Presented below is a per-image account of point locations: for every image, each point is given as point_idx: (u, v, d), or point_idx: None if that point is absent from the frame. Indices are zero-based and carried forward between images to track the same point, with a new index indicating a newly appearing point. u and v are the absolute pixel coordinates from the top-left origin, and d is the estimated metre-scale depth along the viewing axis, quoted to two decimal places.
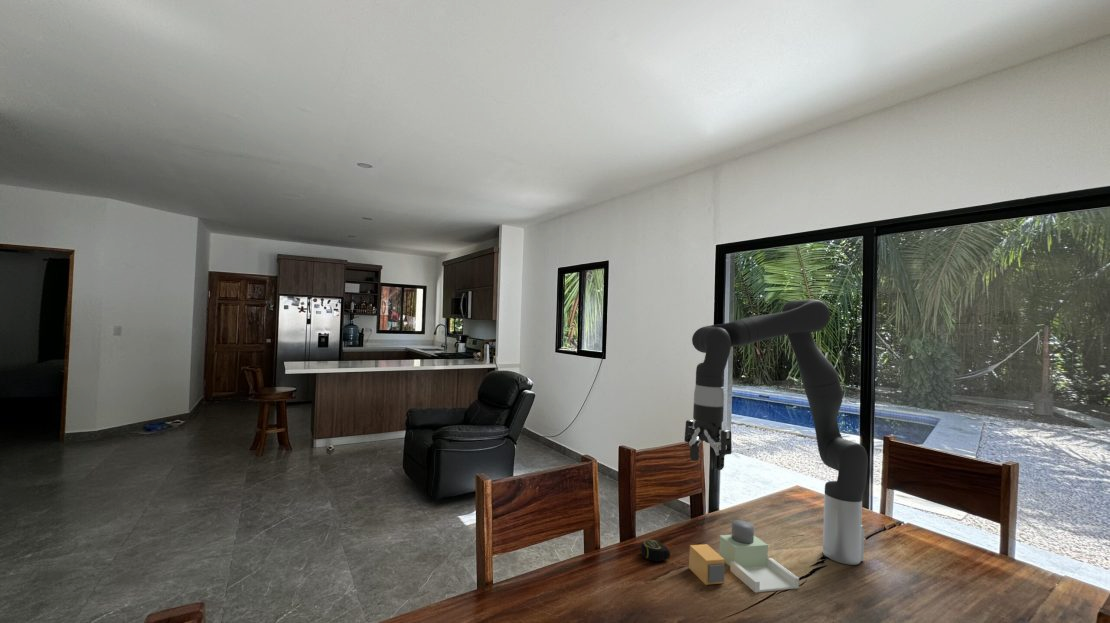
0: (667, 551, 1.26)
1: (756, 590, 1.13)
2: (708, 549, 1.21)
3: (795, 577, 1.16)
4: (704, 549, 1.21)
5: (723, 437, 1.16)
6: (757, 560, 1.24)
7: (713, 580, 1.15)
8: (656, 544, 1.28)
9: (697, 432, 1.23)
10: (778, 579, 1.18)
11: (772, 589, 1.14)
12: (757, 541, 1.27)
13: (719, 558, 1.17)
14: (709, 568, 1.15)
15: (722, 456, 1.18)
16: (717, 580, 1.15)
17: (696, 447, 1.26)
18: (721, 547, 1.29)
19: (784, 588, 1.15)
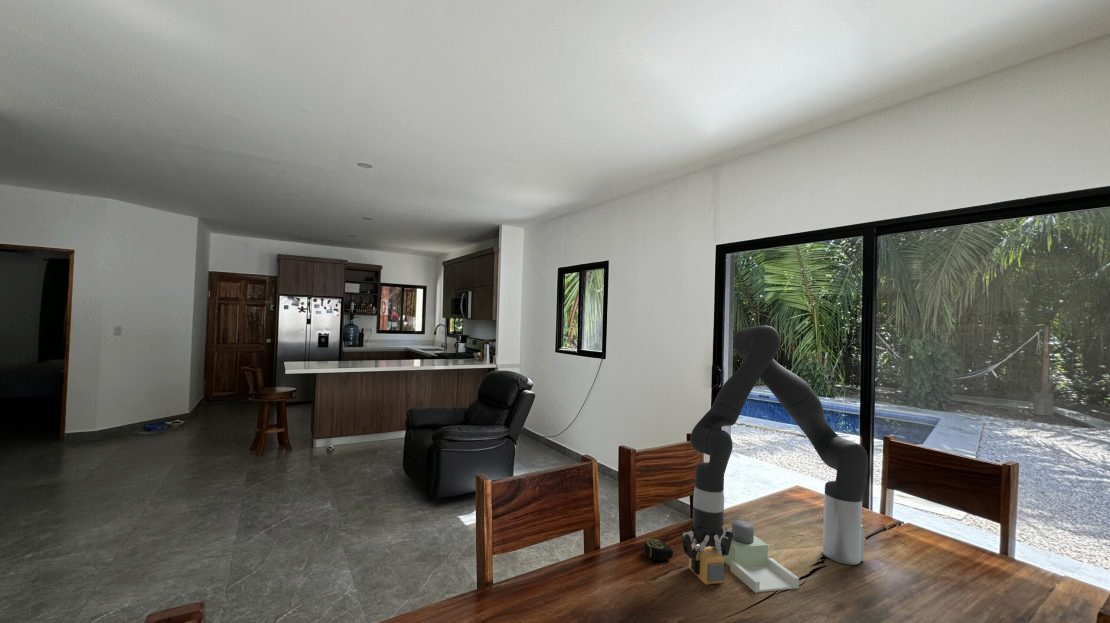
0: (670, 550, 1.26)
1: (756, 590, 1.13)
2: (708, 549, 1.21)
3: (795, 577, 1.16)
4: None
5: (731, 539, 1.20)
6: (757, 560, 1.24)
7: (713, 579, 1.15)
8: (659, 543, 1.29)
9: (706, 540, 1.18)
10: (778, 579, 1.18)
11: (772, 589, 1.14)
12: (757, 541, 1.27)
13: (719, 557, 1.17)
14: (709, 567, 1.15)
15: None
16: (717, 579, 1.15)
17: None
18: None
19: (784, 588, 1.15)
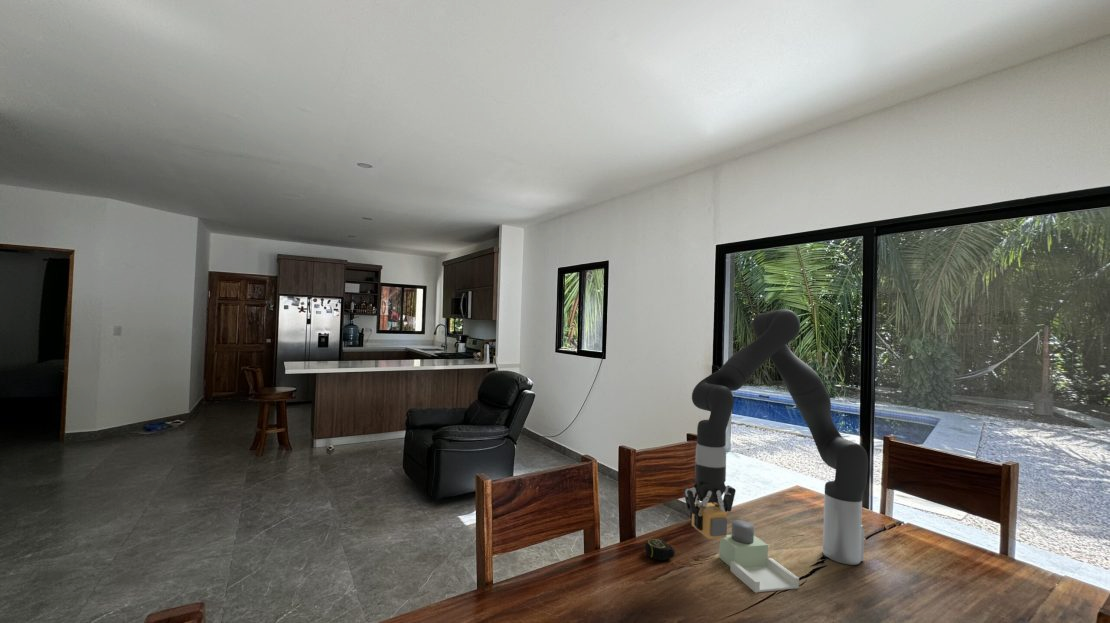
0: (671, 550, 1.26)
1: (756, 590, 1.13)
2: (710, 505, 1.21)
3: (795, 577, 1.16)
4: None
5: (733, 495, 1.20)
6: (757, 560, 1.24)
7: (716, 534, 1.15)
8: (660, 543, 1.29)
9: (708, 496, 1.18)
10: (778, 579, 1.18)
11: (772, 589, 1.14)
12: (757, 541, 1.27)
13: (721, 512, 1.17)
14: (712, 522, 1.15)
15: None
16: (720, 534, 1.15)
17: None
18: (721, 547, 1.29)
19: (784, 588, 1.15)
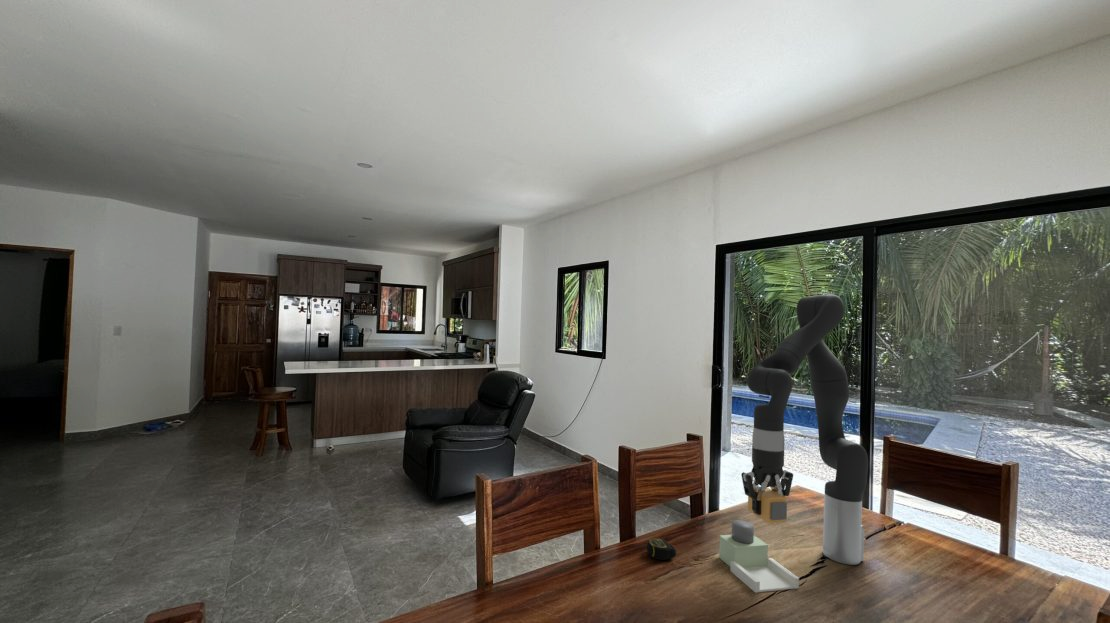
0: (673, 550, 1.27)
1: (756, 590, 1.13)
2: (767, 490, 1.21)
3: (795, 577, 1.16)
4: None
5: (791, 479, 1.20)
6: (757, 560, 1.24)
7: (776, 518, 1.14)
8: (662, 543, 1.29)
9: (767, 480, 1.17)
10: (778, 579, 1.18)
11: (772, 589, 1.14)
12: (757, 541, 1.27)
13: (781, 496, 1.16)
14: (772, 506, 1.15)
15: None
16: (780, 518, 1.15)
17: None
18: (721, 547, 1.29)
19: (784, 588, 1.15)
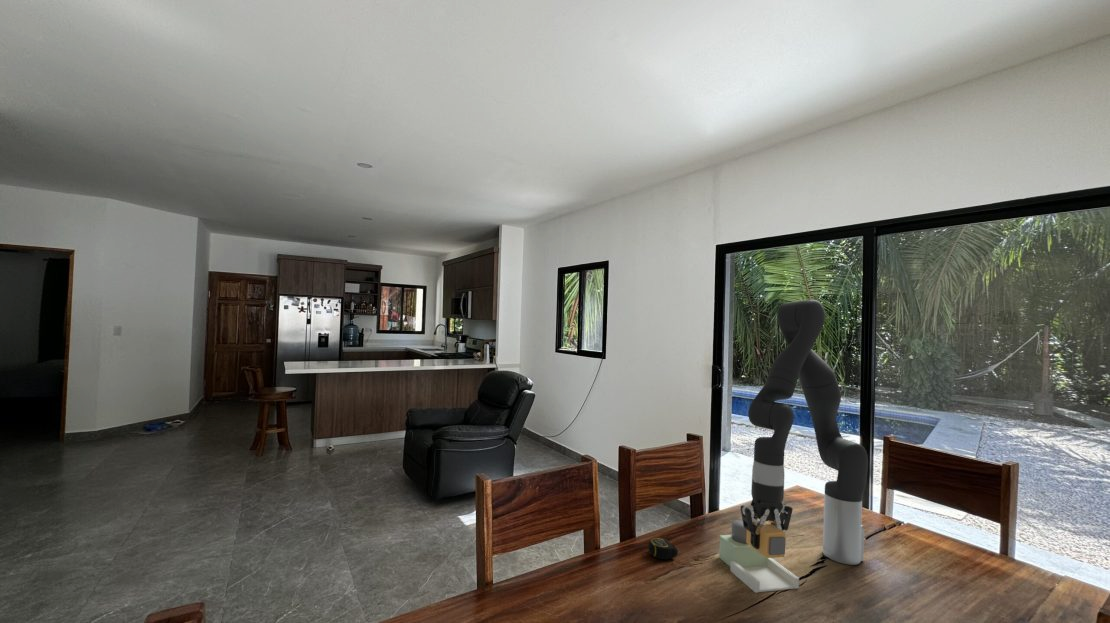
0: (674, 549, 1.27)
1: (756, 590, 1.13)
2: (766, 523, 1.21)
3: (795, 577, 1.16)
4: None
5: (790, 513, 1.19)
6: (757, 560, 1.24)
7: (774, 553, 1.14)
8: (663, 542, 1.29)
9: (766, 514, 1.17)
10: (778, 579, 1.18)
11: (772, 589, 1.14)
12: None
13: (779, 531, 1.16)
14: (770, 541, 1.14)
15: None
16: (778, 553, 1.14)
17: None
18: (721, 547, 1.29)
19: (784, 588, 1.15)
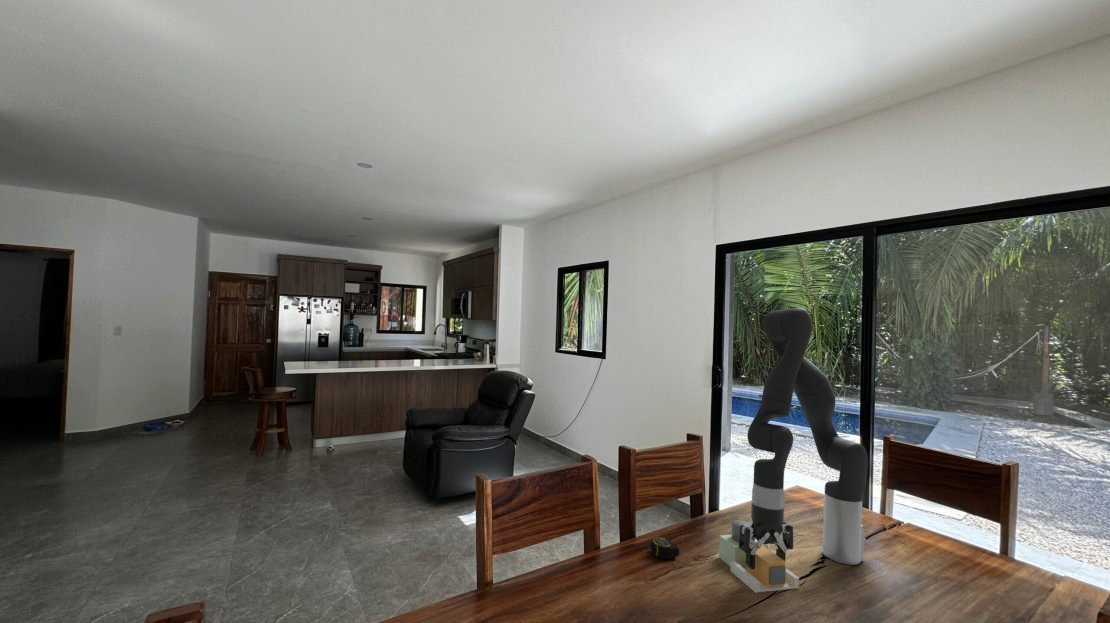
0: (676, 549, 1.27)
1: (756, 590, 1.13)
2: (766, 551, 1.20)
3: (795, 577, 1.16)
4: (762, 551, 1.21)
5: (791, 532, 1.19)
6: None
7: (775, 582, 1.14)
8: (665, 542, 1.30)
9: (765, 538, 1.17)
10: None
11: (772, 589, 1.14)
12: (757, 541, 1.27)
13: (780, 560, 1.16)
14: (770, 570, 1.14)
15: None
16: (778, 582, 1.14)
17: None
18: (721, 547, 1.29)
19: (784, 588, 1.15)
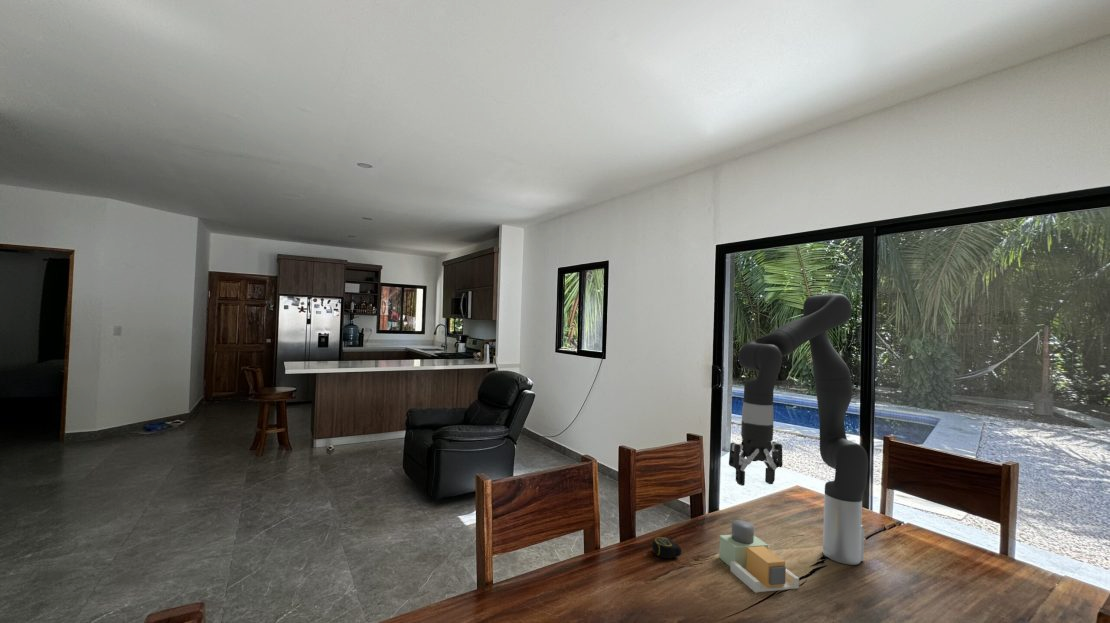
0: (678, 548, 1.28)
1: (756, 590, 1.13)
2: (766, 551, 1.20)
3: (795, 577, 1.16)
4: (762, 551, 1.21)
5: (781, 450, 1.21)
6: None
7: (775, 582, 1.14)
8: (667, 541, 1.30)
9: (755, 454, 1.18)
10: None
11: (772, 589, 1.14)
12: (757, 541, 1.27)
13: (780, 560, 1.16)
14: (770, 570, 1.14)
15: None
16: (778, 582, 1.14)
17: None
18: (721, 547, 1.29)
19: (784, 588, 1.15)
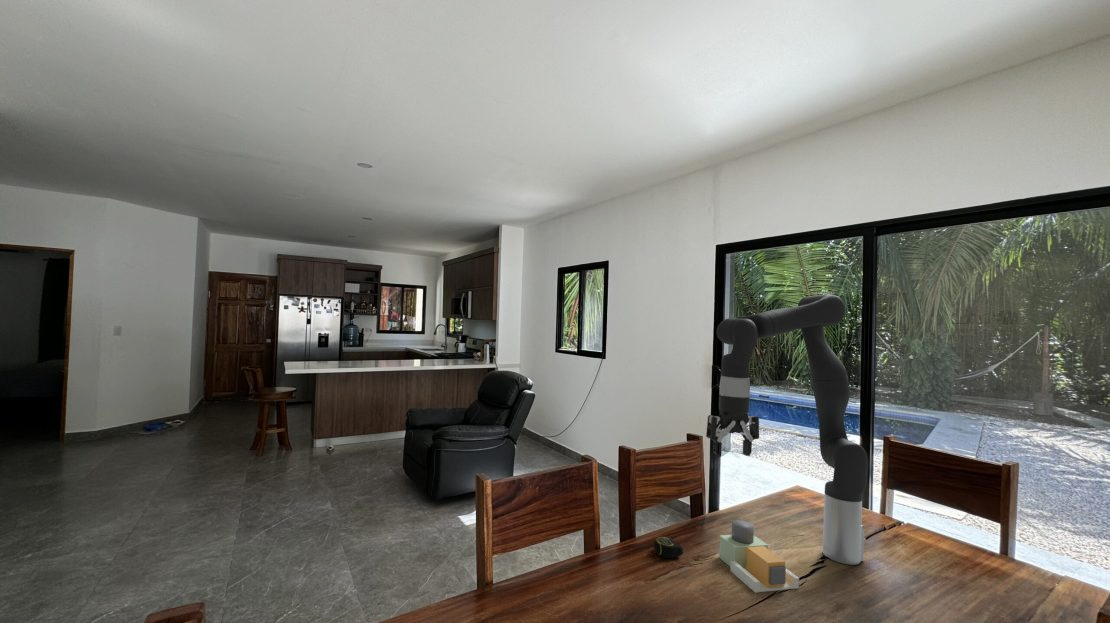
0: (680, 548, 1.28)
1: (756, 590, 1.13)
2: (766, 551, 1.20)
3: (795, 577, 1.16)
4: (762, 551, 1.21)
5: (757, 423, 1.24)
6: None
7: (775, 582, 1.14)
8: (669, 541, 1.30)
9: (731, 425, 1.21)
10: None
11: (772, 589, 1.14)
12: (757, 541, 1.27)
13: (780, 560, 1.16)
14: (770, 570, 1.14)
15: None
16: (778, 582, 1.14)
17: None
18: (721, 547, 1.29)
19: (784, 588, 1.15)
